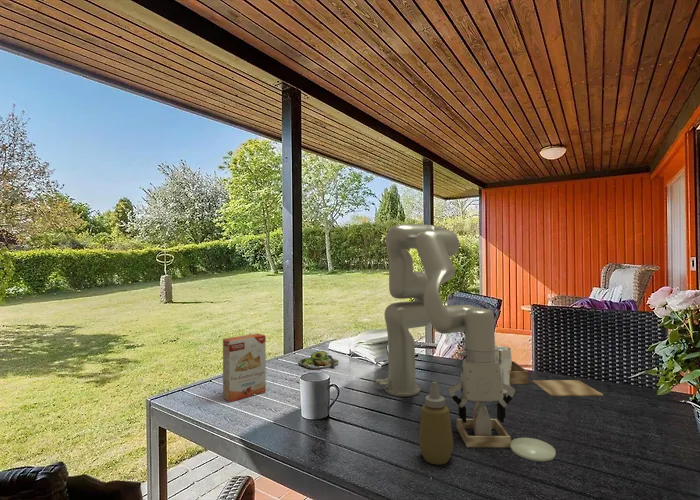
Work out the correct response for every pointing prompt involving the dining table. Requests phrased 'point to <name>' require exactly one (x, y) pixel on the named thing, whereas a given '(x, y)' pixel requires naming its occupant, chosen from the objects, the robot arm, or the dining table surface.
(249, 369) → the cracker box
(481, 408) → the gable top carton
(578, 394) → the wooden board
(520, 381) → the display tray
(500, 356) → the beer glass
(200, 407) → the dining table surface
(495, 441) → the holder
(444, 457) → the squeeze bottle
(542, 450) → the coaster
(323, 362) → the salad plate
